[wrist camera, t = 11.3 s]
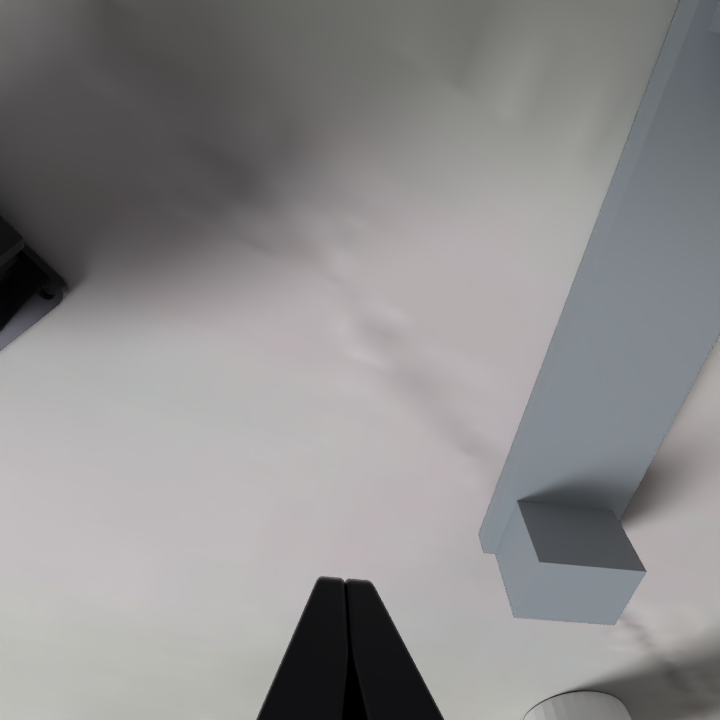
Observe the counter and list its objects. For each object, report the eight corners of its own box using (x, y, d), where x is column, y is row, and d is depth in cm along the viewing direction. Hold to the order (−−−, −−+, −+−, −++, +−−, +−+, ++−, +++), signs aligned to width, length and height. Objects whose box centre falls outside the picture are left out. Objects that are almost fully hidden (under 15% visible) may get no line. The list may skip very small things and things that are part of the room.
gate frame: (478, 534, 26) (500, 616, 22) (728, -129, 15) (849, -168, 11) (588, 544, 27) (626, 626, 23) (909, -85, 15) (1077, -109, 12)
